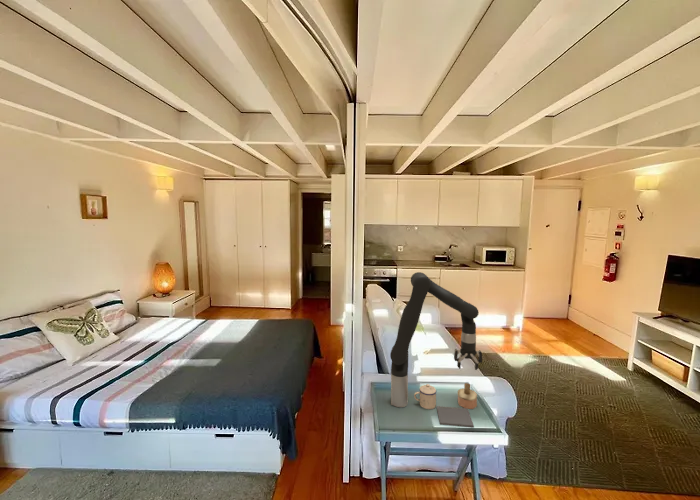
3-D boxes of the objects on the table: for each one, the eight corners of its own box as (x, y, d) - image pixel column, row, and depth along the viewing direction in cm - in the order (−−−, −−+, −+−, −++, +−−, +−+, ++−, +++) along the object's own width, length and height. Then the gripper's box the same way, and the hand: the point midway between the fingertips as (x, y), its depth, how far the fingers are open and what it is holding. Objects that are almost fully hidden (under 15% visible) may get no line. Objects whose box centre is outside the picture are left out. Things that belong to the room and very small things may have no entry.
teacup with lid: (434, 400, 173) (434, 380, 172) (437, 410, 164) (438, 389, 163) (412, 399, 174) (413, 380, 173) (415, 409, 165) (415, 388, 164)
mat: (439, 424, 153) (440, 422, 153) (436, 407, 166) (436, 406, 166) (473, 427, 150) (473, 425, 150) (467, 410, 164) (467, 408, 164)
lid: (459, 399, 165) (459, 388, 164) (456, 389, 175) (456, 379, 174) (479, 401, 163) (479, 390, 163) (474, 391, 173) (474, 380, 173)
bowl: (460, 408, 166) (460, 399, 165) (456, 398, 175) (457, 390, 174) (477, 409, 164) (478, 400, 164) (473, 399, 173) (474, 391, 173)
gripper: (456, 342, 164) (455, 371, 165) (484, 343, 162) (483, 373, 163) (453, 336, 171) (452, 364, 173) (480, 338, 169) (479, 366, 171)
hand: (467, 368), depth 168 cm, fingers open, 8 cm apart
